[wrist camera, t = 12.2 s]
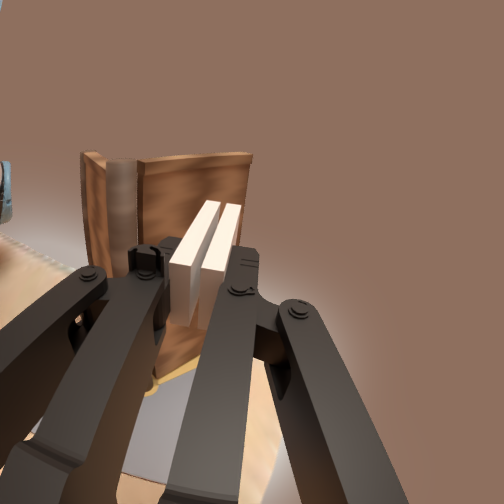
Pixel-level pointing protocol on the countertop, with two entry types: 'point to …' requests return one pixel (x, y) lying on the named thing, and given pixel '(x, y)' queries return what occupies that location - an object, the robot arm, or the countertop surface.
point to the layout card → (158, 424)
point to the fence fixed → (109, 212)
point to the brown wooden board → (185, 222)
